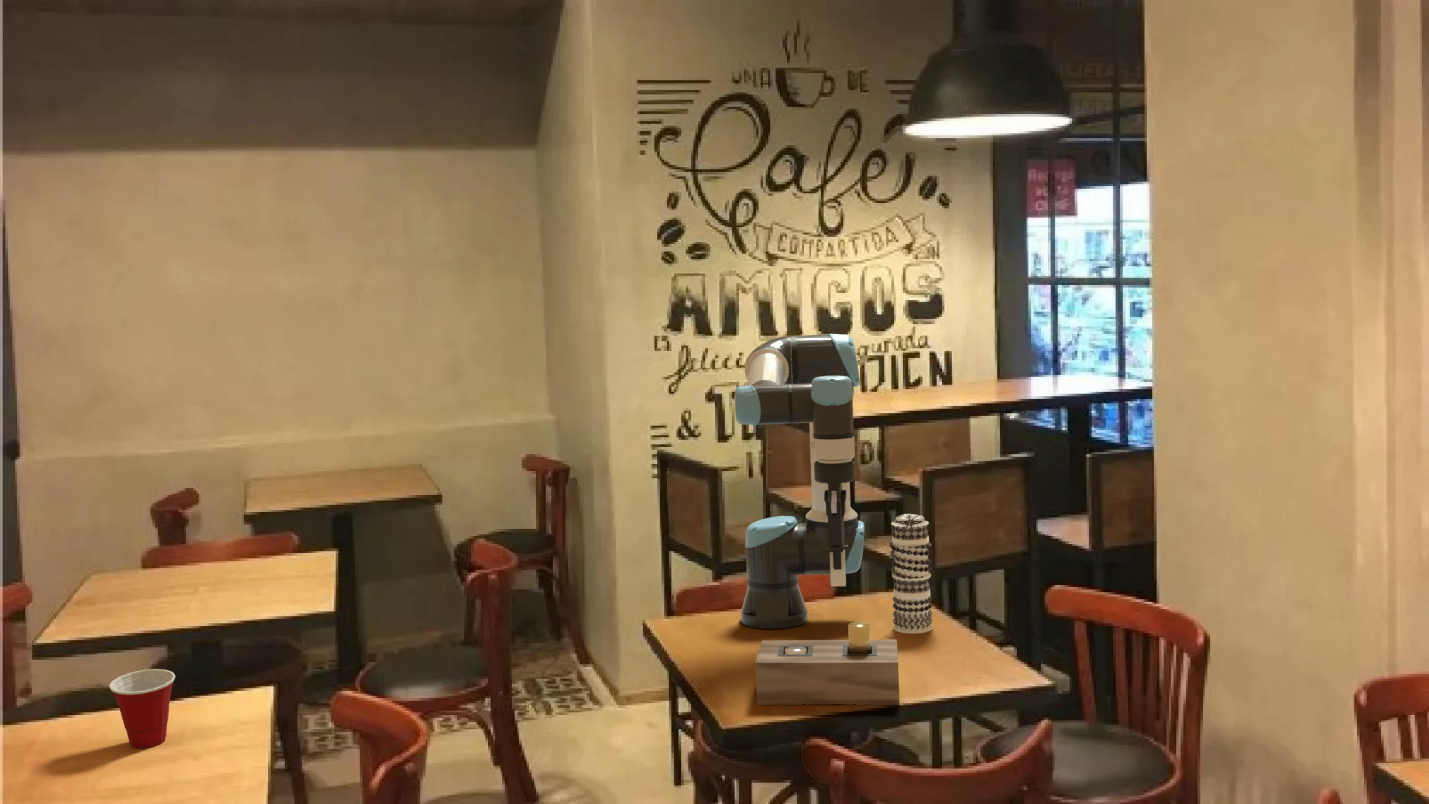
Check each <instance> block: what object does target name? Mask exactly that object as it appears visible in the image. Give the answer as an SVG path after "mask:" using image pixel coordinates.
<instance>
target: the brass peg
mask: <svg viewBox="0 0 1429 804" xmlns="http://www.w3.org/2000/svg"><path fill="white" fill-rule="evenodd" d="M870 626H871V625H870V623H869V622H865V621H852V622H850V623H848V624H847V629H848V630H847V631H848V632H847V633H848V640H849V654H871V653H870V640H871V627H870Z"/></svg>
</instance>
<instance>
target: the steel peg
mask: <svg viewBox="0 0 1429 804" xmlns="http://www.w3.org/2000/svg"><path fill="white" fill-rule="evenodd" d="M785 654H806V648H805V647H802V646H791V647H787V648H785Z"/></svg>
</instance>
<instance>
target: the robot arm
mask: <svg viewBox="0 0 1429 804" xmlns="http://www.w3.org/2000/svg"><path fill="white" fill-rule="evenodd" d="M744 375H745V378H746V381H747V385H742V386H737V387H736V388H735V390H734V411H735V413H734V414H735V421H736V422H737V424H739V425H751V426H757V425H777V424H779V425H780V424H782V425H783V424H802V423H803V424H808V423H809V449H810V451H809V452H810V478H811V482H810V484H811V505H812V506H811V509H810V510H809V511H808V512H807V513H806V514H805V522H801V523H800V522H799V523H798V520H797V519H796V516H791V515H779V516H778V515H777V516H771V517H766V518H763V519H762V518H761V519H760V520H757V521H754V522H752V523H750V524H749V525H748V526H747V528H746V531H745V544H744V548H746V549H745V551H746V552H745V553H746V579H747V580H746V582H747V585H746V586H747V590H746V591H745V592H746V593H745V596H744V599H743V603H742V605H741V606H742V607H741V610H740V619H741V620H740V621H741V624H743V625H745V626H747V627H749V628H754V629H760V630H761V629H762V630H781V629H788V628H794V627H799V626H801V625H803V624H805V623H806V622H807V621H808V618H809V617H808V608H807V605H806V603H805V600H804V597H803V595H802V592H801V588H800V585H799V576H804V575H807V576H808V575H809V576H810V575H830V587H846V586H847V585H846V584H847V579H846V574H853V573H857V572H858V570H859V569H861V566H862V560H863V552H864V542H865V522H863V521H861V520H858V513H857V512H856V511H855V510H854V509H853V508H852V507H851V487H850V486H851V484H850V483H851V482H854V481H855V480H856V464H855V461H854V460H853V459H854V458H855V451H856V449H855V435H854V401H853V399H854V398H853V397H854V393H855V391H854V387H855V388H856V387H859V386H860V385H861V380H860V371H859V365H858V360H857V353H856V349H855V344H854V340H853V338H852V337H851V335H848V334H838V333H825V334H807V335H805V334H804V335H784V336H778V337H775V338H773V339H768V340H767V341H766V342H765V341H764V342H763V343H761V344H760V345H758V346H757V347H756V348H755V349H753V350H752V352H750V353H749V354H748V356H747V358H746V360H745V364H744Z"/></svg>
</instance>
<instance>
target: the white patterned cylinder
mask: <svg viewBox="0 0 1429 804" xmlns="http://www.w3.org/2000/svg"><path fill="white" fill-rule="evenodd" d="M929 523H930V522H929V521H927V520H926V519H925V517H924V516H923V515H921V514H916V513H904V514H903V513H902V514H900V515H897V516H896V517H895V519H894V521H892V522H891V523H890V524H891V525H892V536H891V537H892V540H891V541H890V542H889V548H890V549H891V551H890V552H889V553H890V554H889V556H890V557H891V558H890V564H891V565H892V567H891V571H890V572H892V573H891V576H892V578H893V579H894V581H893V582H894V588H893V597H892V601H893V602H894V603H893V604H892V607H893V609H894V611H893V612H892V615H893V617H894V618H893V619H892V623H893V624H894V625H893V630H894V631H896V632H897V633H902V634H908V635H909V634H910V635H912V634H915V635H916V634H924V633H928V632H931V630H933V626H932V624H933V619H932V617H933V612H932V610H931V609H932V607H933V604H932V603H931V602H932V599H933V597H932V596H931V588H930V578H931V577H932V575H931V572H930V571H932V567H931V566H930V564H932V559H930V558H929V556H931V555H932V554H933V551H932V550H930V549H931V548H932V547H933V544H932V543H930V539H929V538H930V537H929V534H928V533H929V531H928V529H929V527H928V525H929Z"/></svg>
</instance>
